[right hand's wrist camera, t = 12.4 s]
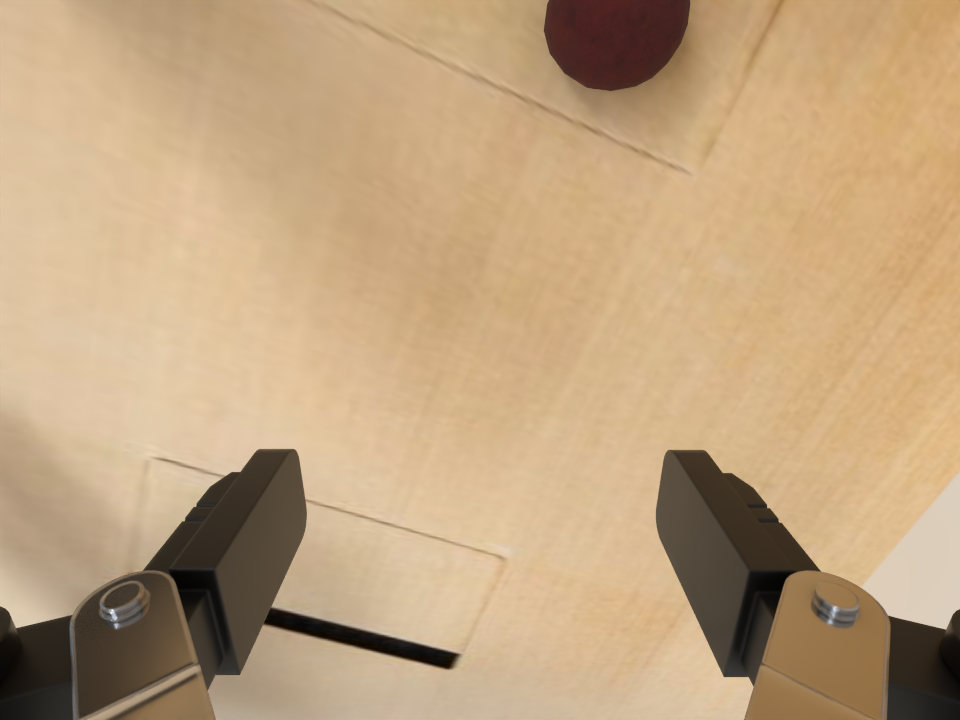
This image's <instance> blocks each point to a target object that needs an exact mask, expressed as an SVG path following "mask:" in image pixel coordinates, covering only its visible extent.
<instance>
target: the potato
mask: <svg viewBox="0 0 960 720" xmlns="http://www.w3.org/2000/svg"><path fill="white" fill-rule="evenodd" d="M689 9H690V0H549V2H548V4H547V11H546V19H545V26H544V33H545V37H546V40H547V44H548V48H549V52H550V54H551V56H552V57H553V58H554V60H555V61H556V62H557V64H558V65H559V66H560V68H561V69H562V71H563V72H564V73H565V74H567V75H568V76H570V77H571V78H573V79H574V80H576V81H578V82H579V83H581V84H582V85H584V86H585V87H587V88H593V89H601V90H608V91H613V90H618V89H624V88H629V87H634V86H637V85H639V84H641V83H643V82H645V81H647V80H649V79H651V78H652V77H653V76H654V75H656V74H657V73H658V72H659V71H660V70H661V69H662V68H663V67H664V66H665V65H666V64H667V63H668V61H669V60H670V58H671V57H672V55H673V54H674V52H675V51H676V49H677V48H678V46H679V45H680V43H681V41H682V38H683V35H684V33H685V30H686V27H687V24H688V17H689Z"/></svg>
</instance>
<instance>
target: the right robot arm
mask: <svg viewBox="0 0 960 720" xmlns="http://www.w3.org/2000/svg"><path fill="white" fill-rule="evenodd" d="M306 519H307V510H306V502H305V495H304V488H303V482H302V475H301V468H300V461H299V456H298V453H297V452H296V450H294V449H259V450H257V451H256V452H255V453H254V455H253V456H252V457H251V459H250V460H249V461H248V463H247V464H246V465H245V467H244V468H243V469H242V471H241V472H231V473H230V474H228V475H227V476H225V477H224V478H222V479H221V480H219V481H218V482H217V483H215V484H214V485H212V486H211V487H210V488H209V489H208V490H207V491H206V493H205V494H204V495H203V496H202V498H201V499H200V500H199V501H198V503H197V506H196V507H194V508H193V509H192V510H191V511H190V513H189V514H188V515H187V516H186V518H185V522H182V523H181V524H180V525H179V526H178V528H177V529H176V530H175V531H174V533H173V534H172V535H171V536H170V537H169V539H168V540H167V541H166V542H165V544H164V545H163V546H162V547H161V549H160V550H159V551H158V552H157V554H156V555H155V556H154V557H153V559H152V560H151V561H150V562H149V564H148V565H147V566H146V567H145V569H144V570H143V571H141V572H136V573H131V574H128V575H125V576H122V577H119V578H117V579H115V580H113V581H111V582H109V583H107V584H105V585H103V586H102V587H100V588H98V589H97V590H95V591H94V592H93V593H91V594H90V595H89V596H88V597H87V598H86V599H85V600H83V601H82V602H81V604H80V605H79V606H78V607H77V608H76V610H75V612H74V613H73V615H70V616H66V617H62V618H58V619H54V620H49V621H45V622H41V623H37V624H33V625H28V626H24V627H20V628H16V627H15V625H14V623H13V621H12V618H11V616H10V614H9V612H8V611H7V610H6V609H5V608H3V607H0V720H216V719H215V715H214V712H213V709H212V705H211V702H210V698H209V695H208V689H209V687H210V685H211V683H212V681H213V679H214V677H215V675H240V674H241V671H242V669H243V667H244V665H245V663H246V660H247V658H248V656H249V654H250V652H251V650H252V647H253V645H254V643H255V641H256V639H257V636H258V634H259V632H260V630H261V628H262V626H263V623H264V621H265V619H266V617H267V615H268V612H269V610H270V608H271V606H272V604H273V602H274V599H275V597H276V595H277V593H278V591H279V588H280V586H281V584H282V582H283V580H284V578H285V575H286V573H287V571H288V569H289V567H290V564H291V562H292V560H293V558H294V556H295V554H296V551H297V549H298V547H299V545H300V543H301V540H302V538H303V535H304V532H305V527H306ZM656 524H657V530H658V534H659V537H660V540H661V542H662V544H663V546H664V549H665V551H666V553H667V555H668V557H669V559H670V562H671V564H672V566H673V568H674V570H675V572H676V574H677V577H678V579H679V581H680V583H681V585H682V587H683V590H684V592H685V594H686V596H687V598H688V600H689V603H690V605H691V607H692V609H693V611H694V613H695V615H696V618H697V620H698V622H699V624H700V626H701V628H702V631H703V633H704V635H705V637H706V639H707V641H708V643H709V646H710V648H711V650H712V652H713V654H714V656H715V659H716V661H717V663H718V665H719V667H720V669H721V672H722V674H723V676H724V677H749V678H750V680H751V682H752V684H753V686H754V688H753V691H752V695H751V698H750V702H749V705H748V709H747V712H746V715H745V719H744V720H960V610H957V611H956V612H955V613H954V614H953V616H952V618H951V620H950V623H949V625H948V627H947V629H946V630H945V629H941V628H936V627H932V626H928V625H924V624H919V623H915V622H911V621H907V620H902V619H898V618H895V617H891V616H888V615H887V613H886V612H885V610H884V608H883V607H882V606H881V605H880V604H879V602H877V601H876V600H875V599H874V598H873V597H872V596H871V595H870V594H869V593H867V592H866V591H865V590H863V589H862V588H860V587H858V586H857V585H855V584H853V583H851V582H849V581H847V580H845V579H843V578H841V577H838V576H835V575H832V574H829V573H824V572H821V571H820V570H819V569H818V567H817V566H816V565H815V564H814V562H813V561H812V560H811V559H810V557H809V556H808V555H807V554H806V553H805V551H804V550H803V549H802V548H801V546H800V545H799V544H798V543H797V541H796V540H795V539H794V538H793V536H792V535H791V534H790V533H789V532H788V530H787V529H786V528H785V527H784V525H783V524H782V523H779V521H778V518H777V517H776V515H775V514H774V513H773V512H772V511H771V509H770V508H767V504H766V503H765V502H764V501H763V499H762V498H761V497H760V496H759V495H758V493H757V492H756V491H755V490H754V488H753V487H751V486H750V485H748V484H747V483H745V482H744V481H742V480H741V479H739V478H738V477H736V476H735V475H733V474H732V473H722V471H721V470H720V469H719V467H718V466H717V465H716V463H715V462H714V461H713V460H712V458H711V457H710V456H709V454H708V453H707V452H706V451H705V450H668V451H667V452H666V454H665V457H664V461H663V467H662V474H661V481H660V487H659V494H658V501H657V507H656Z"/></svg>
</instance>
